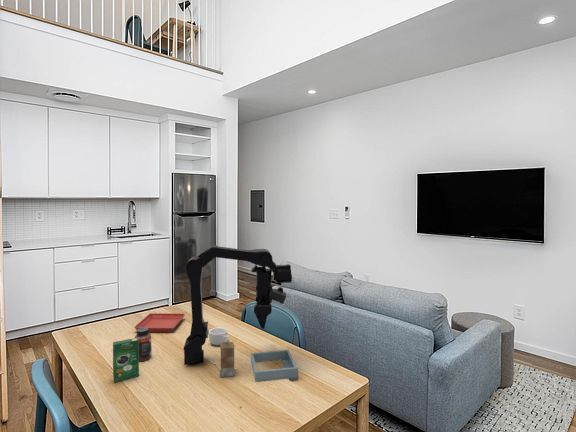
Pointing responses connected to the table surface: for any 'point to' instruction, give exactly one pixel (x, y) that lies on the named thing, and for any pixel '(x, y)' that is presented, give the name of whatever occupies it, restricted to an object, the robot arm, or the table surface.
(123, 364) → the coffee box
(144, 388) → the table surface
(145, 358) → the supplement bottle
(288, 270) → the robot arm
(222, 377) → the knob on square plate
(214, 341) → the teacup
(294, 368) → the bin
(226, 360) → the strut
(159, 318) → the plant saucer
